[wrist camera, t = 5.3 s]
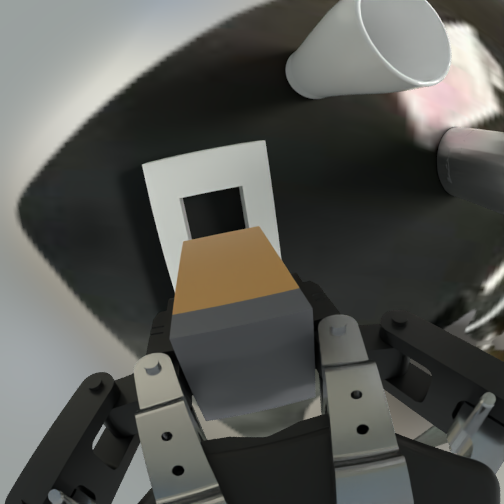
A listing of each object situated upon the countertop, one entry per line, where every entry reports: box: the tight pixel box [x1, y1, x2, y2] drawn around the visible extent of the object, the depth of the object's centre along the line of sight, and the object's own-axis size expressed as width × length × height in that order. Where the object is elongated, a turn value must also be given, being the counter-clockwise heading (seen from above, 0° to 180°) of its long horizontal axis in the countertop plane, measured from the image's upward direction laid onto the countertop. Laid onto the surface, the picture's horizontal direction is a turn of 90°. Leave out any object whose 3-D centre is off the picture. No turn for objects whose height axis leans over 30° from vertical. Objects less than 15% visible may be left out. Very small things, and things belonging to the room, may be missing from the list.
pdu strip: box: [142, 140, 281, 291], centre depth 28 cm, size 10×24×3 cm, turn 9°
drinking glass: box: [285, 0, 451, 99], centre depth 16 cm, size 7×7×15 cm
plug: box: [169, 226, 315, 421], centre depth 12 cm, size 4×4×8 cm
